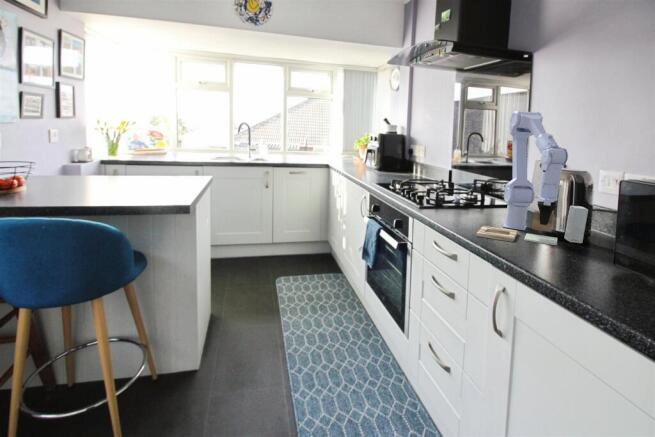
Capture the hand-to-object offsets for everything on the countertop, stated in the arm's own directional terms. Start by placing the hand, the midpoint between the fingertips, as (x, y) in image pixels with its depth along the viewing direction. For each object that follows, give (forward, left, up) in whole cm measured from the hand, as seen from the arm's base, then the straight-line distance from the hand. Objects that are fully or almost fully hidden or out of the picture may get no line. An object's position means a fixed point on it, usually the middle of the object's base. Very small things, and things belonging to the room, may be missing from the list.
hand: (543, 223), depth 152 cm
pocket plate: (+3, -14, -6) cm, 15 cm away
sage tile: (0, 0, -6) cm, 6 cm away
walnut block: (0, 0, -2) cm, 2 cm away
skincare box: (-7, +10, -6) cm, 14 cm away
